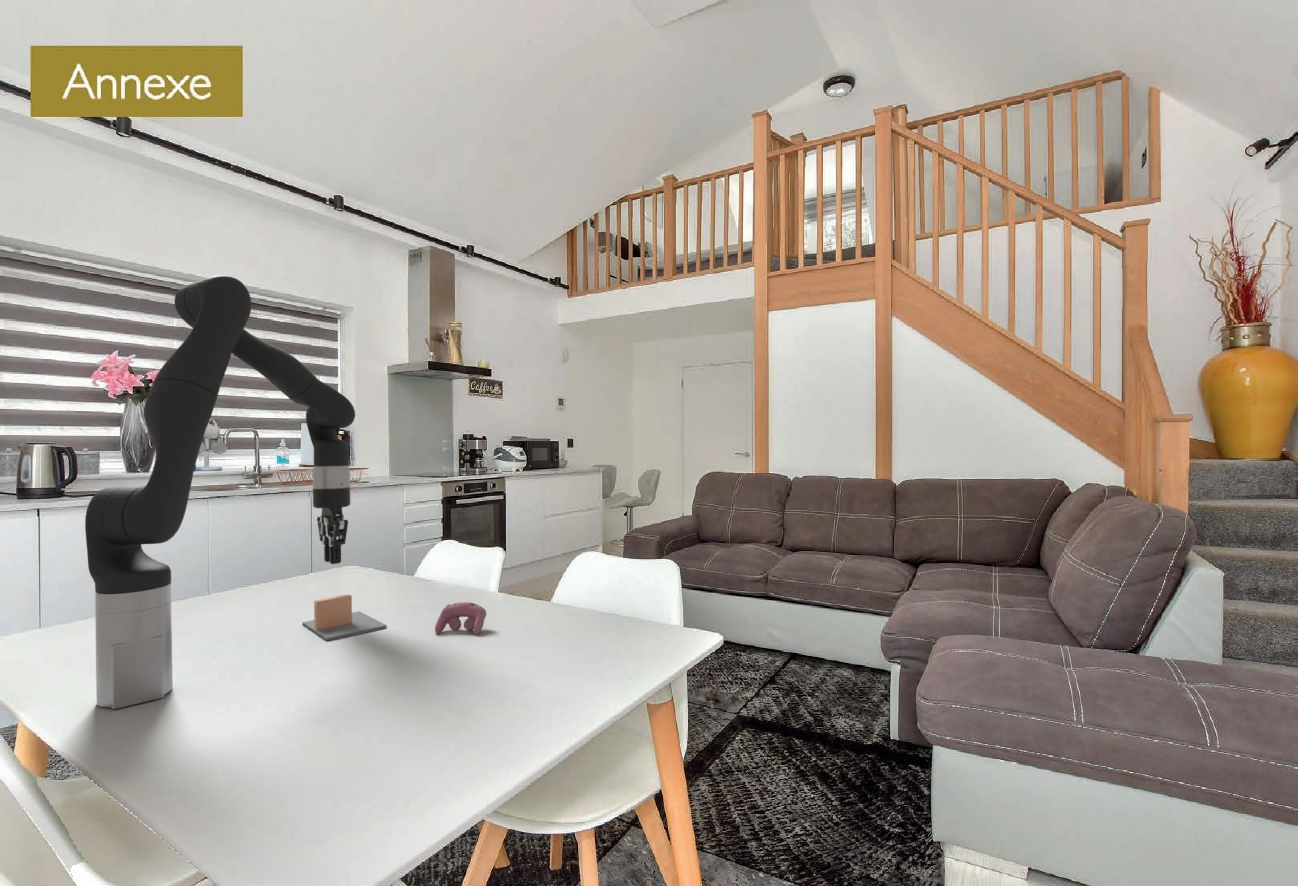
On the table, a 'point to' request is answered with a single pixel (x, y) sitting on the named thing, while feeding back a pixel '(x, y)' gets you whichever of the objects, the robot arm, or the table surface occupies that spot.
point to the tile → (332, 612)
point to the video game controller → (461, 609)
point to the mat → (347, 627)
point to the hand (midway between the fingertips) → (332, 562)
